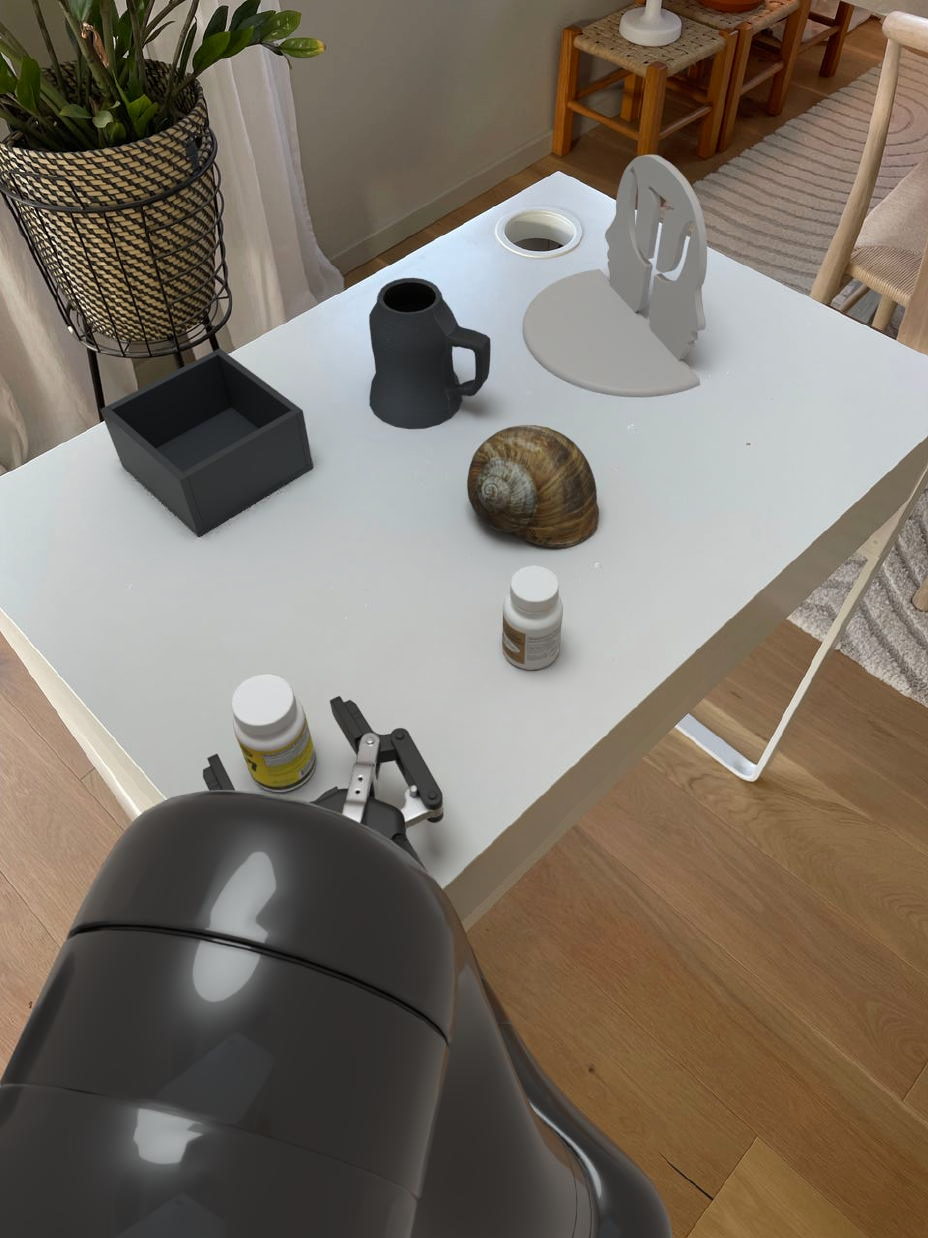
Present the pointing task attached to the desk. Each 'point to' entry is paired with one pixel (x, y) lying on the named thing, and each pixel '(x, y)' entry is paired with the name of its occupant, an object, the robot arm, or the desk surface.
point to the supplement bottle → (273, 733)
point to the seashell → (534, 486)
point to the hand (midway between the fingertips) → (275, 732)
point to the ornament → (630, 296)
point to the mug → (420, 356)
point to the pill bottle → (532, 618)
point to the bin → (209, 440)
